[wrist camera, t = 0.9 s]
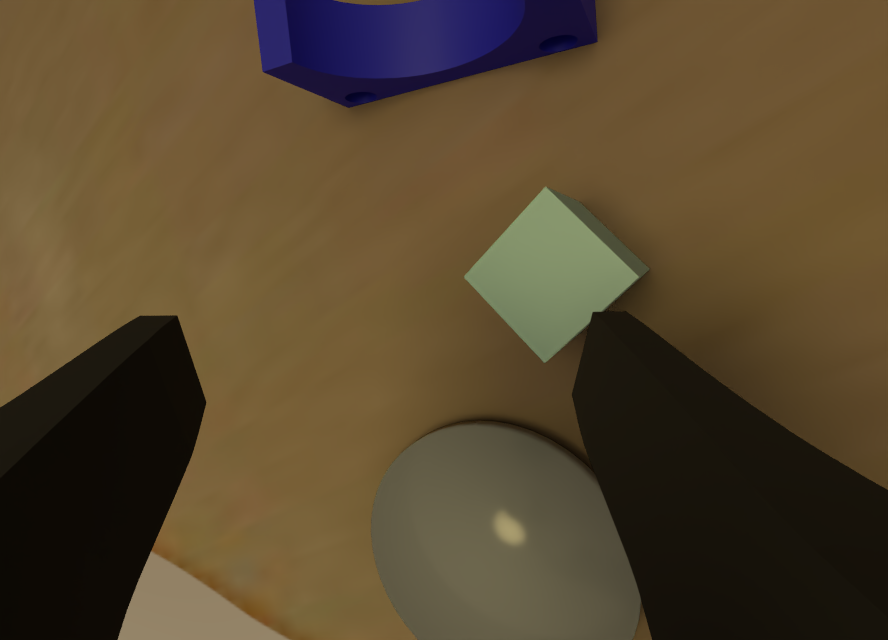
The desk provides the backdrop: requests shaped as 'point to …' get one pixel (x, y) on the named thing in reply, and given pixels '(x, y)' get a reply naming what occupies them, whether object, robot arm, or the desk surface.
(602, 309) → the pale green block
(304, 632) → the desk surface
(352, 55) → the cable clip
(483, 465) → the slate plate
